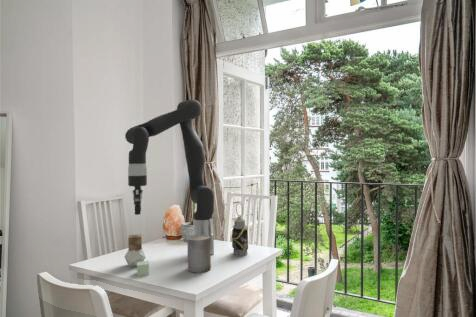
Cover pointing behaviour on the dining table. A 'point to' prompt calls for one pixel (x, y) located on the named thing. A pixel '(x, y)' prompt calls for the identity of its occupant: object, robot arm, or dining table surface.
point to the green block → (142, 268)
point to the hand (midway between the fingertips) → (138, 213)
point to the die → (134, 257)
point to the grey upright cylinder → (199, 253)
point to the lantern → (240, 236)
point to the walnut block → (134, 242)
